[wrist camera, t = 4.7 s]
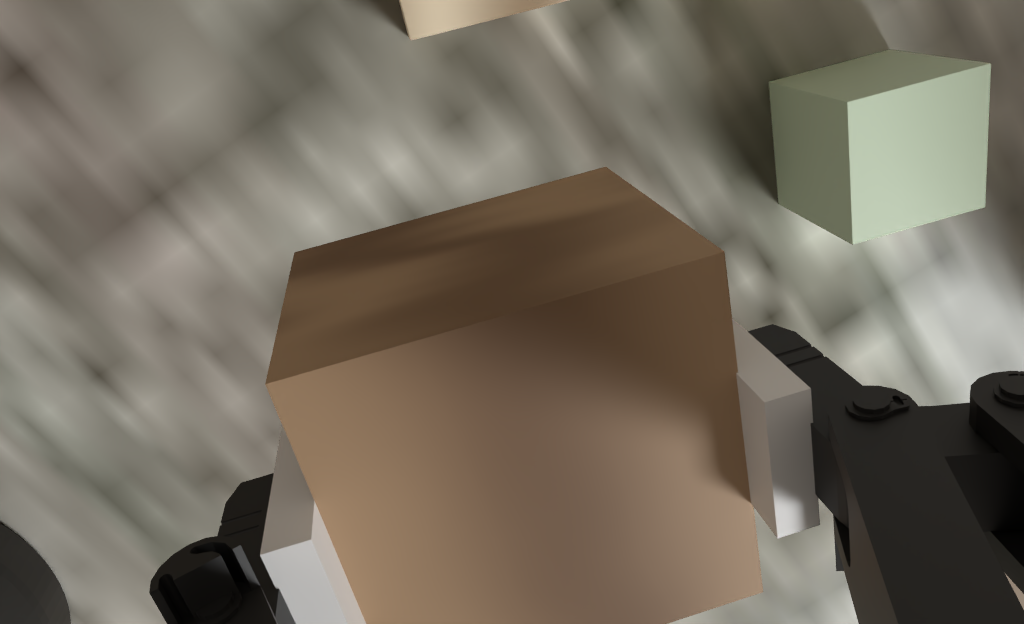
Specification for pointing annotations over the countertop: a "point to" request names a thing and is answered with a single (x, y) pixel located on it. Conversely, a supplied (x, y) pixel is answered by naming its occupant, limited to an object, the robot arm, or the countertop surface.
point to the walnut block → (523, 411)
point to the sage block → (882, 142)
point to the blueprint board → (459, 13)
